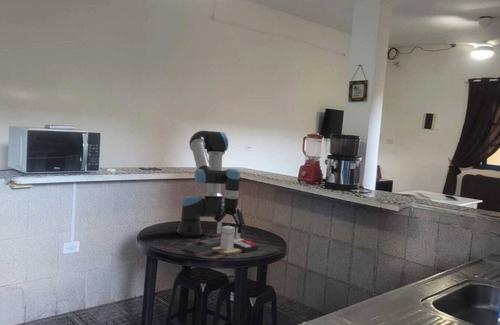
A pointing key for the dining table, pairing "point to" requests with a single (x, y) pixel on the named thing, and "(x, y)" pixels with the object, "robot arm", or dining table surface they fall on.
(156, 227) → the dining table surface
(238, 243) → the calculator
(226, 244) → the block
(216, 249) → the wooden board
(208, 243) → the grey handheld radio
